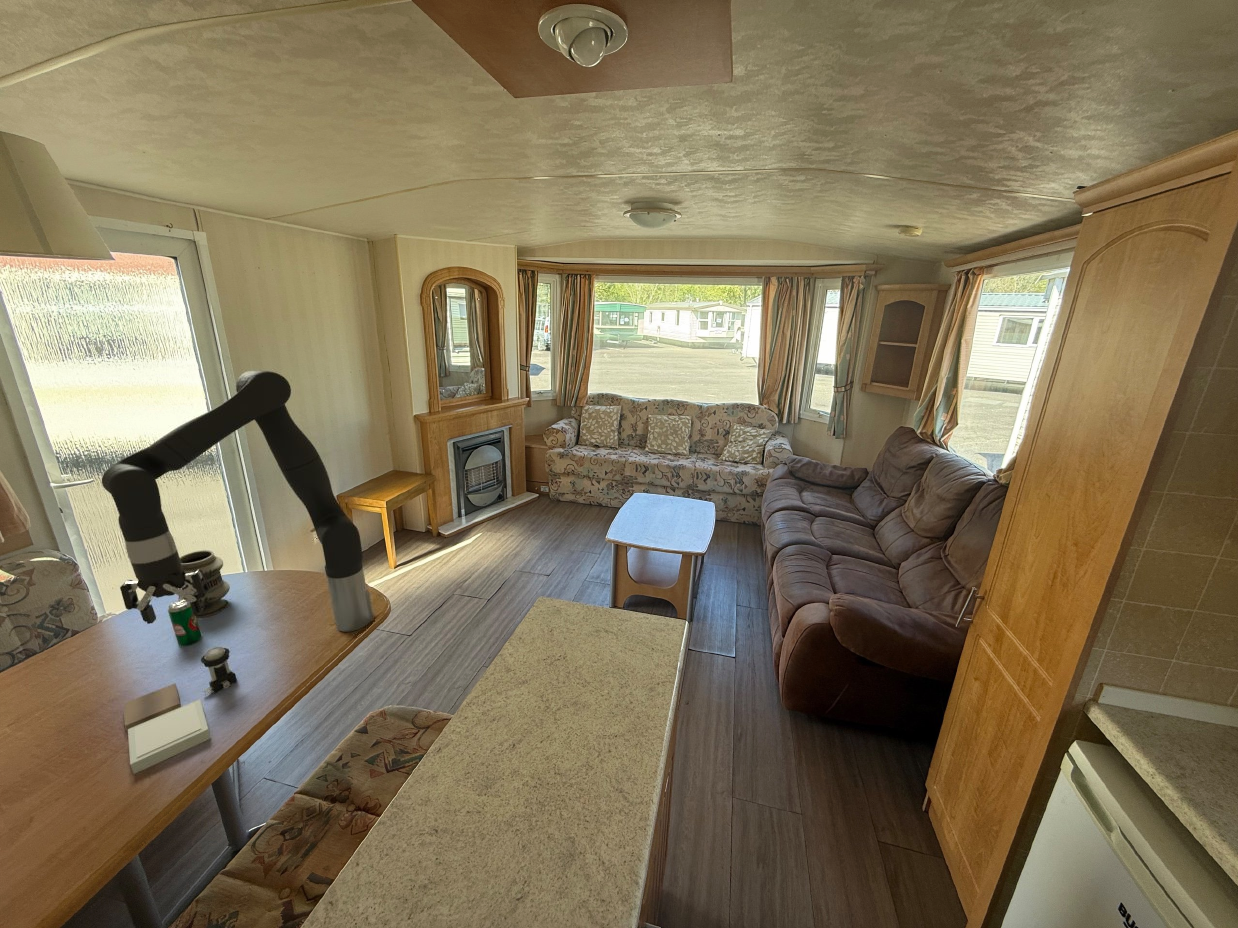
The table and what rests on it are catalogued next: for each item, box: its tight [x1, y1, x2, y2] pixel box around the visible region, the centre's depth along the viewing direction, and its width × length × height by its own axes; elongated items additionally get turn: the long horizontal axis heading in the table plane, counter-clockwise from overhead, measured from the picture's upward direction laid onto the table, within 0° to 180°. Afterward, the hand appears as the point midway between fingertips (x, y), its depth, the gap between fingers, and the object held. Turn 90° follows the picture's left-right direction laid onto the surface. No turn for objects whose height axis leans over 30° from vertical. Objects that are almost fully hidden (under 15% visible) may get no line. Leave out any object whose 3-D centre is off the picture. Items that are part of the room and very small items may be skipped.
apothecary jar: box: [177, 549, 230, 619], centre depth 148 cm, size 12×12×18 cm
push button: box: [200, 646, 238, 696], centre depth 118 cm, size 7×5×10 cm
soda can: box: [167, 599, 203, 647], centre depth 134 cm, size 5×5×12 cm
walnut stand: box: [123, 683, 182, 734], centre depth 112 cm, size 9×9×2 cm
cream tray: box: [127, 698, 212, 775], centre depth 105 cm, size 12×12×3 cm
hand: (175, 617), depth 111 cm, fingers open, 8 cm apart
